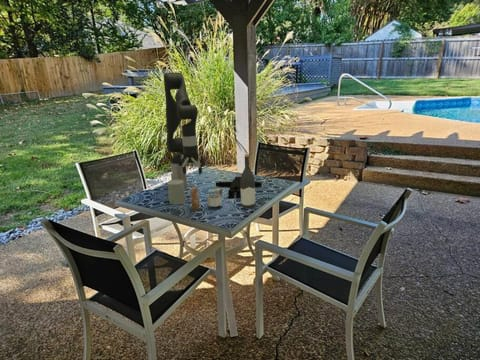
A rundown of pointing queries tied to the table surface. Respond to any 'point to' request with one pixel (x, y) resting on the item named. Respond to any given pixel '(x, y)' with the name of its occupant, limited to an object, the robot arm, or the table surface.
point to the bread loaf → (194, 198)
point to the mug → (215, 198)
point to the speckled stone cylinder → (176, 191)
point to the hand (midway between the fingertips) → (192, 173)
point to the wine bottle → (247, 185)
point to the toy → (235, 187)
